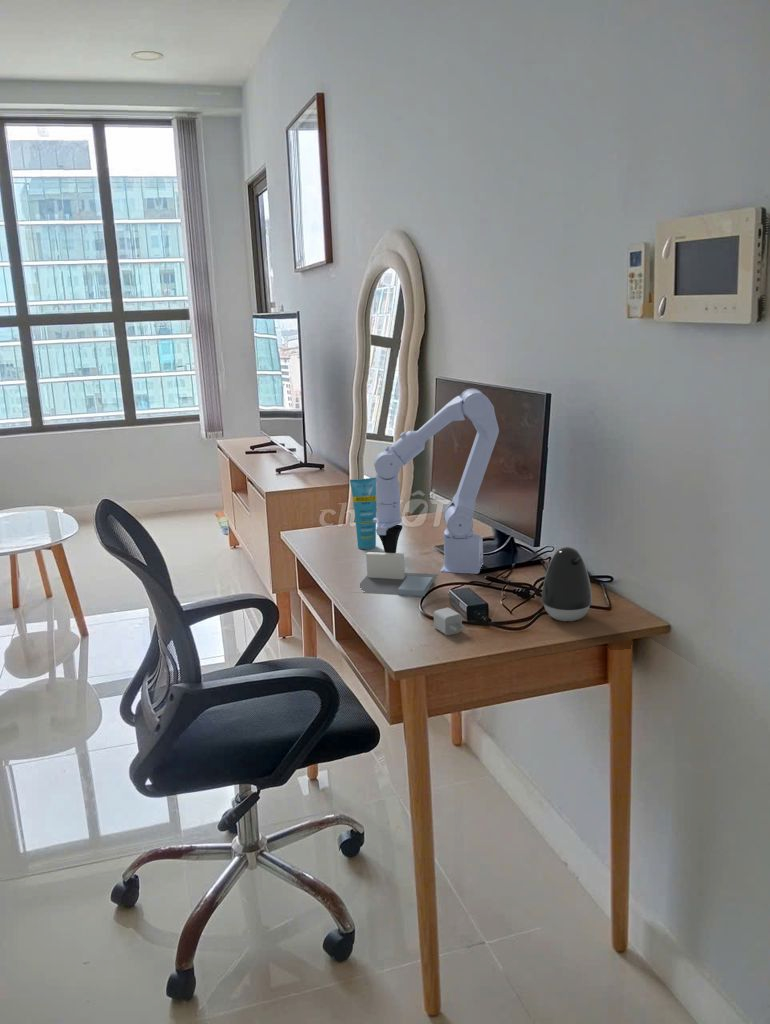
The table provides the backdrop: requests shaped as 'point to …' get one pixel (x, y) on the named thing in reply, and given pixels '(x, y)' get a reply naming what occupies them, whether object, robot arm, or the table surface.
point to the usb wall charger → (448, 621)
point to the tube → (365, 511)
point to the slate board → (415, 586)
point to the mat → (387, 584)
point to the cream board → (385, 565)
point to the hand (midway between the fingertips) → (390, 555)
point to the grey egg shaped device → (567, 586)
